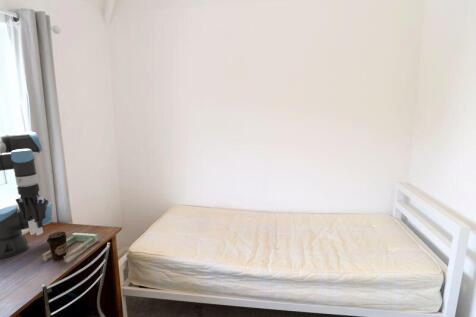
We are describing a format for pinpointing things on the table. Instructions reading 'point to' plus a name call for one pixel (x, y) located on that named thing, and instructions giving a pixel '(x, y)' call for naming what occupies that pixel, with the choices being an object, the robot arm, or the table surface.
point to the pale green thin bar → (48, 253)
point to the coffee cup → (57, 245)
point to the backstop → (84, 236)
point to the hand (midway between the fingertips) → (36, 233)
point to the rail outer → (79, 250)
